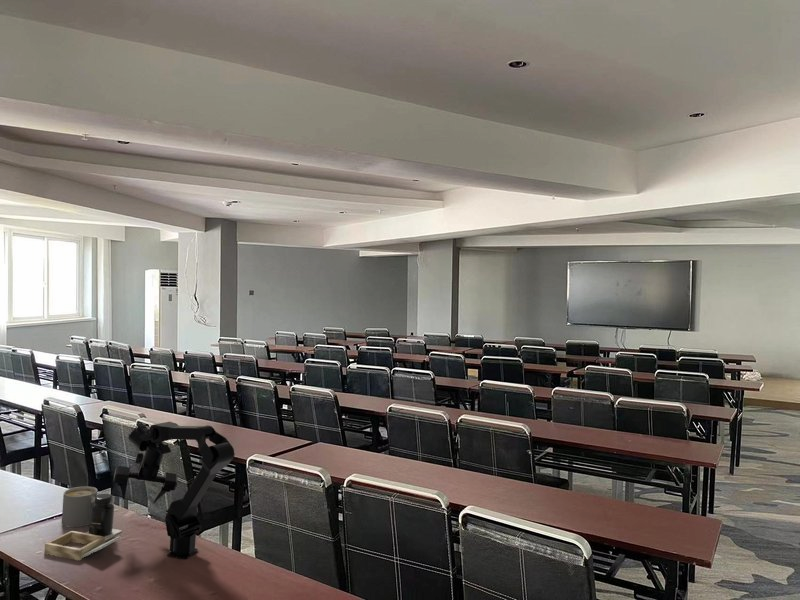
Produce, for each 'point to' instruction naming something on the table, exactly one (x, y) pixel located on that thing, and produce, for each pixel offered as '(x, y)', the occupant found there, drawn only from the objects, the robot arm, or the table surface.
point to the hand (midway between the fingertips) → (138, 500)
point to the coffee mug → (78, 506)
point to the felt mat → (114, 532)
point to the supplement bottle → (101, 515)
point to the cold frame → (58, 549)
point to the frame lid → (101, 546)
